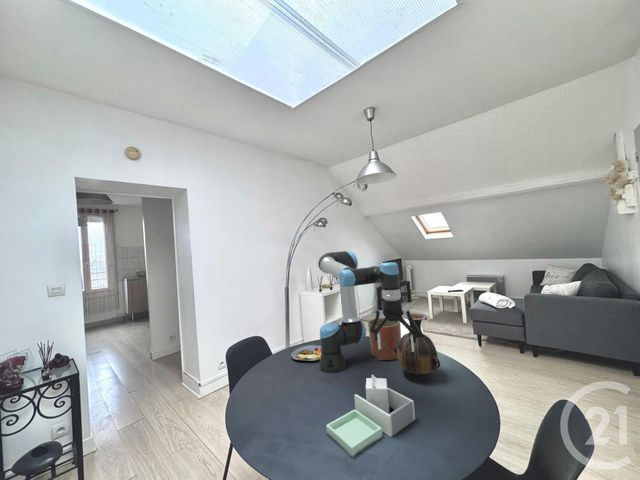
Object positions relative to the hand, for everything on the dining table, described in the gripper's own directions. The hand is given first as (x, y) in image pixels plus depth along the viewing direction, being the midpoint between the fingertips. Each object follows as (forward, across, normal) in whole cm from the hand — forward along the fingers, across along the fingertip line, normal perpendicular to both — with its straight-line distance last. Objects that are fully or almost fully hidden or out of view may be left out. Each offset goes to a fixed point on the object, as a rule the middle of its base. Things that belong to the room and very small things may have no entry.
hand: (396, 349), depth 110 cm
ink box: (+23, -8, -8) cm, 25 cm away
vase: (+23, +7, +26) cm, 36 cm away
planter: (+23, -11, +48) cm, 54 cm away
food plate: (+23, -57, +39) cm, 73 cm away
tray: (+22, -14, -23) cm, 35 cm away
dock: (+22, -6, -10) cm, 25 cm away
